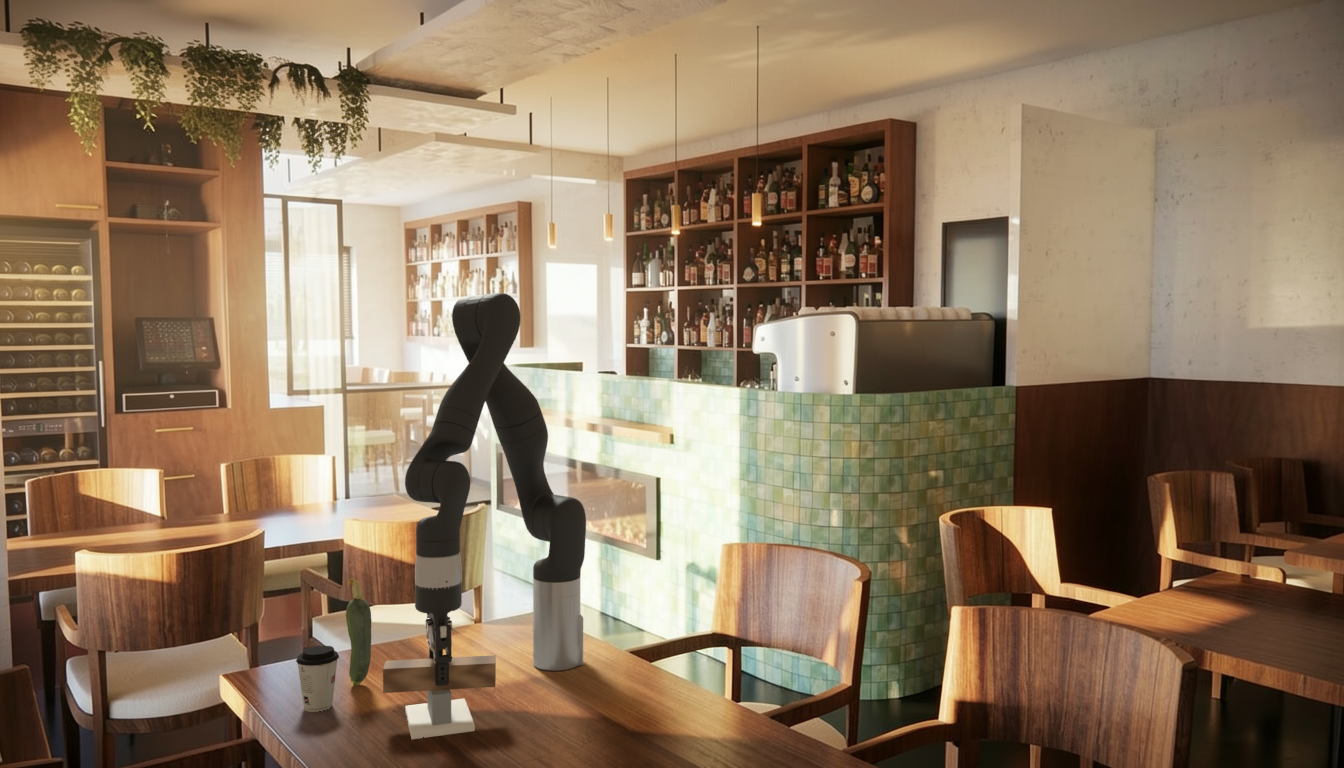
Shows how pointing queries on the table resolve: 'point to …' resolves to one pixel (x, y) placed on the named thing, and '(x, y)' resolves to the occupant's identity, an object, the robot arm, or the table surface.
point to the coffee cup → (317, 677)
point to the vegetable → (359, 633)
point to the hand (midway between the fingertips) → (438, 676)
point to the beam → (422, 674)
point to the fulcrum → (439, 716)
